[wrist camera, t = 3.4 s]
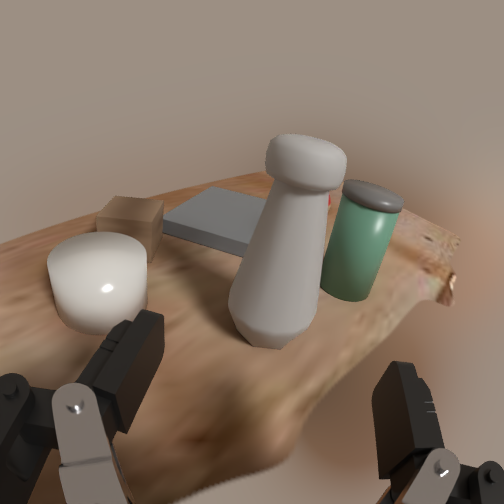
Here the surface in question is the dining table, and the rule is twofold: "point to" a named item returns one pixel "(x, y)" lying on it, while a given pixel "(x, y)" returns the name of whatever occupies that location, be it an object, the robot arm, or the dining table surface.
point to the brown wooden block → (134, 221)
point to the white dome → (98, 280)
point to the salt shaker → (287, 243)
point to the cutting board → (216, 219)
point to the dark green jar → (359, 239)
